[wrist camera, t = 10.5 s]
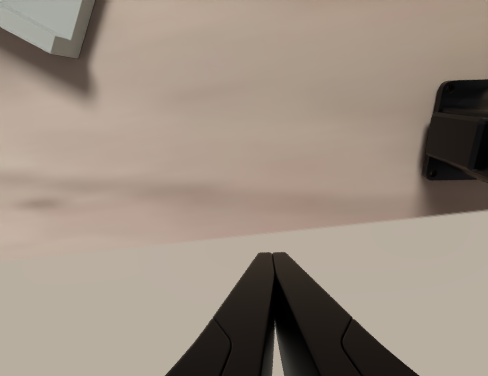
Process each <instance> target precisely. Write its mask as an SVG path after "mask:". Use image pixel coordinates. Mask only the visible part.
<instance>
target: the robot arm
mask: <svg viewBox="0 0 488 376" xmlns="http://www.w3.org/2000/svg"><path fill="white" fill-rule="evenodd" d="M448 86H450V87H451V90H450V91H449V92H448V93H447V87H448ZM425 153H426V157H425V163H424V168H423V176H424V177H425V178H426V179H428V180H473V179H479V180H482V181H484V182H487V183H488V79H485V80H457V81H445V82H444V83H442V84H441V85H440V87H439V90H438V95H437V100H436V105H435V110H434V115H433V116H432V118H431V123H430V129H429V134H428V139H427V145H426V150H425ZM432 170H434V172H433V174H432V175H430V172H431V171H432ZM275 328H276V334H277V340H278V344H279V350H280V355H281V361H282V366H283V371H284V376H419V375H417V374H416V373H415V372H414V371H413V370H411V369H410V368H409V367H408V366H406V365H405V364H404V363H403V362H402V361H400V360H399V359H398V358H397V357H396V356H394V355H393V354H392V353H391V352H390V351H389V350H387V349H386V348H385V347H384V346H383V345H381V344H380V343H379V342H378V341H377V340H376V339H375V338H374V337H373V336H372V335H370V334H369V333H368V332H367V331H366V330H365V329H364V328H363V327H362V326H361V325H360V324H359V323H358V322H357V321H356V320H354V319H353V318H352V316H350V315H349V314H348V313H347V312H346V311H345V310H344V309H343V308H342V307H341V306H340V305H339V304H338V303H337V302H336V301H335V300H334V299H333V298H332V297H330V295H329V294H328V293H327V292H326V291H325V290H324V289H323V288H322V287H321V286H319V284H317V283H316V282H315V281H314V280H313V279H312V278H311V277H310V276H309V275H308V274H307V273H306V272H305V271H304V270H303V269H302V268H301V267H300V266H299V265H298V264H297V263H296V262H295V261H294V260H293V259H292V258H291V257H290V256H289V255H288V254H286V253H285V252H275V253H273V254H271V253H269V252H267V253H258V254H257V256H256V257H255V259H254V260H253V262H252V263H251V264H250V266H249V267H248V269H247V270H246V271H245V273H244V274H243V276H242V277H241V278H240V280H239V281H238V283H237V284H236V285H235V287H234V288H233V290H232V291H231V292H230V294H229V295H228V297H227V298H226V300H225V301H224V303H223V304H222V306H221V307H220V308H219V309H218V311H217V312H216V314H215V315H214V316H213V319H211V320H210V322H209V323H208V325H207V326H206V328H205V329H204V330H203V332H202V333H201V334H200V336H199V337H198V338H197V340H196V341H195V342H194V343H193V345H192V346H191V347H190V348H189V349H188V350H187V351H186V353H185V354H184V355H183V356H182V357H181V358H180V360H179V361H178V362H177V363H176V364H175V365H174V366H173V367H172V368H171V370H170V371H169V372H168V373H167V374H166V375H165V376H272V367H273V351H274V334H275V333H274V330H275Z"/></svg>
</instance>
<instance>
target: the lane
mask: <svg viewBox="0 0 488 376" xmlns="http://www.w3.org/2000/svg"><path fill="white" fill-rule="evenodd" d="M94 3H95V0H0V27H1V28H3V29H5V30H7V31H9V32H10V33H12V34H14V35H16V36H18V37H20V38H22V39H24V40H26V41H27V42H29V43H31V44H33V45H35V46H37V47H39V48H41V49H42V50H44V51H46V52H48V53H50V54H55V55H61V56H66V57H72V58H77V59H78V57H79V54H80V51H81V47H82V44H83V40H84V37H85V34H86V30H87V27H88V23H89V20H90V17H91V13H92V10H93V6H94Z"/></svg>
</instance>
